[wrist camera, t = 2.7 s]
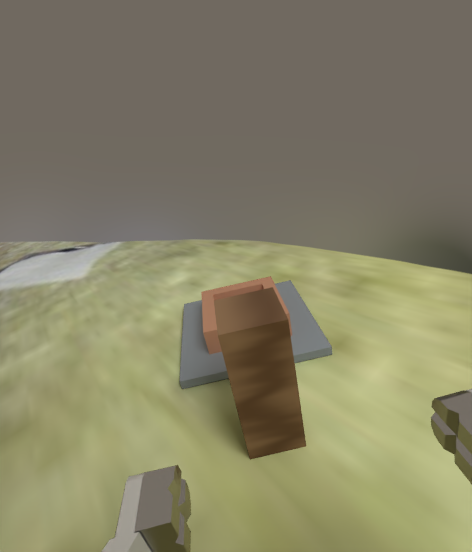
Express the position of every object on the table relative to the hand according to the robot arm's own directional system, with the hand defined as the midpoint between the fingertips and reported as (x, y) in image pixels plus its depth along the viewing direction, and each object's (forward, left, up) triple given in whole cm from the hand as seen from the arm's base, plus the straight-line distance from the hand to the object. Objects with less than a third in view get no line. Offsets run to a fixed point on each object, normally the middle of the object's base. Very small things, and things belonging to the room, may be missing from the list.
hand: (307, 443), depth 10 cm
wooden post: (0, +12, -14) cm, 19 cm away
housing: (0, +27, -14) cm, 31 cm away
